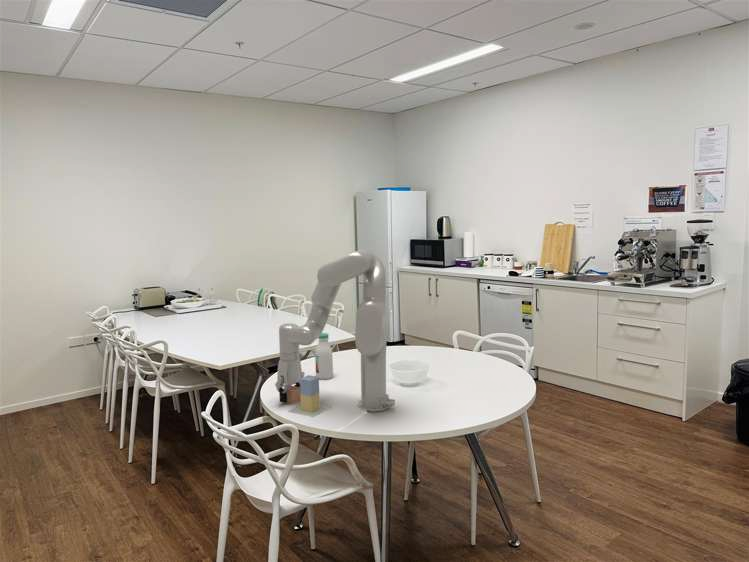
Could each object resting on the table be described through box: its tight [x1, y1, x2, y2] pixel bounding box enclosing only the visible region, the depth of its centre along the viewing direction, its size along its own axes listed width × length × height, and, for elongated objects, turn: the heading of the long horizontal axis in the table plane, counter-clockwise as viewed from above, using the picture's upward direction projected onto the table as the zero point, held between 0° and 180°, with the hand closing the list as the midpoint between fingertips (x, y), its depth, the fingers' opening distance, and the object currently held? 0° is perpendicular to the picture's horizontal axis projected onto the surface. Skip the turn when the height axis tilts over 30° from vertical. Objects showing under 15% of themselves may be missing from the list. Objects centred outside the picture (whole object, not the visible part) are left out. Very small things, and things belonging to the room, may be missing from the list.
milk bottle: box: [314, 332, 334, 380], centre depth 245 cm, size 8×8×20 cm
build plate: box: [287, 403, 333, 418], centre depth 205 cm, size 12×12×1 cm
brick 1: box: [283, 385, 301, 405], centre depth 214 cm, size 5×5×6 cm
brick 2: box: [300, 374, 320, 396], centre depth 203 cm, size 5×5×6 cm
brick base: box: [299, 392, 320, 412], centre depth 204 cm, size 5×5×6 cm
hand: (290, 398), depth 214 cm, fingers open, 8 cm apart
